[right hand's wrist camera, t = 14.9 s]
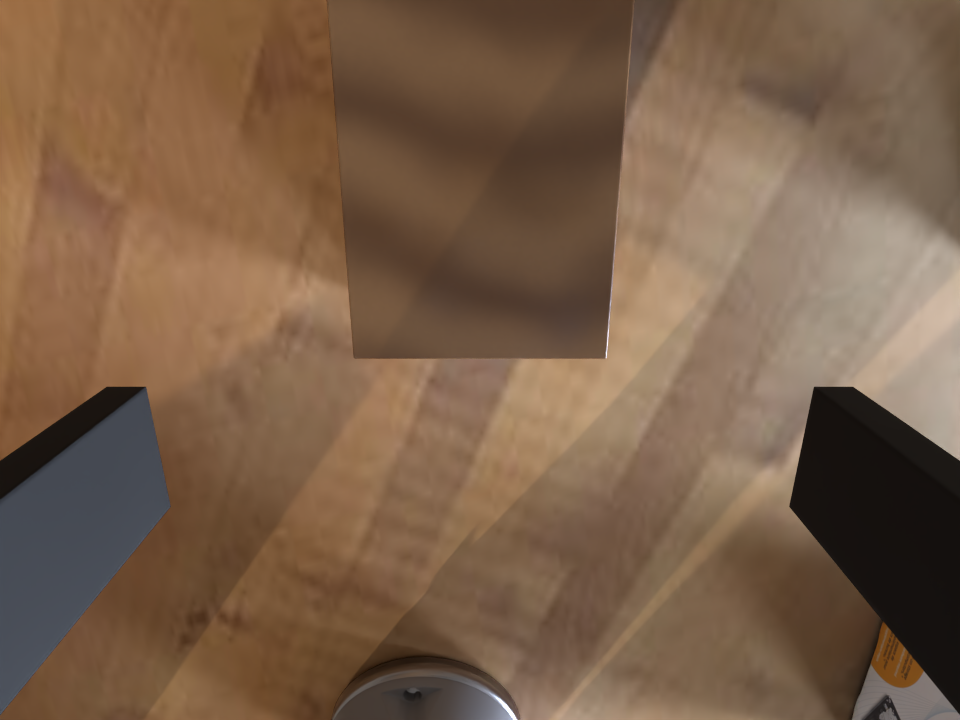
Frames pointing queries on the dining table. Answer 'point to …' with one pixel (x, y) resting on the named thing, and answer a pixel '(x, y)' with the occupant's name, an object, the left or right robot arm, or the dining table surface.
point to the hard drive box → (899, 687)
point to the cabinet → (480, 173)
